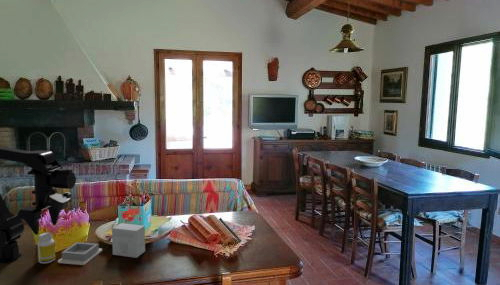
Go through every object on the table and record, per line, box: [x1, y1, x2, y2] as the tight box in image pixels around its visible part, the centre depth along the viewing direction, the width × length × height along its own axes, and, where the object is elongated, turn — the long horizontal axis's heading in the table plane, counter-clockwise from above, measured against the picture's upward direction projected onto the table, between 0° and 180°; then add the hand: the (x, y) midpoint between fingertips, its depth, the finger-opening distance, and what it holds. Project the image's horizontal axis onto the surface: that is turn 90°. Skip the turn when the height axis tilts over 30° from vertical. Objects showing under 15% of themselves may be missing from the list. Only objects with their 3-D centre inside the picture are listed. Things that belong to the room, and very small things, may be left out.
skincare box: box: [111, 222, 146, 259], centre depth 137 cm, size 10×6×10 cm, turn 76°
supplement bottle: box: [37, 232, 56, 264], centre depth 130 cm, size 5×5×10 cm
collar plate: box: [57, 241, 103, 266], centre depth 134 cm, size 10×12×3 cm
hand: (45, 229), depth 129 cm, fingers open, 9 cm apart
